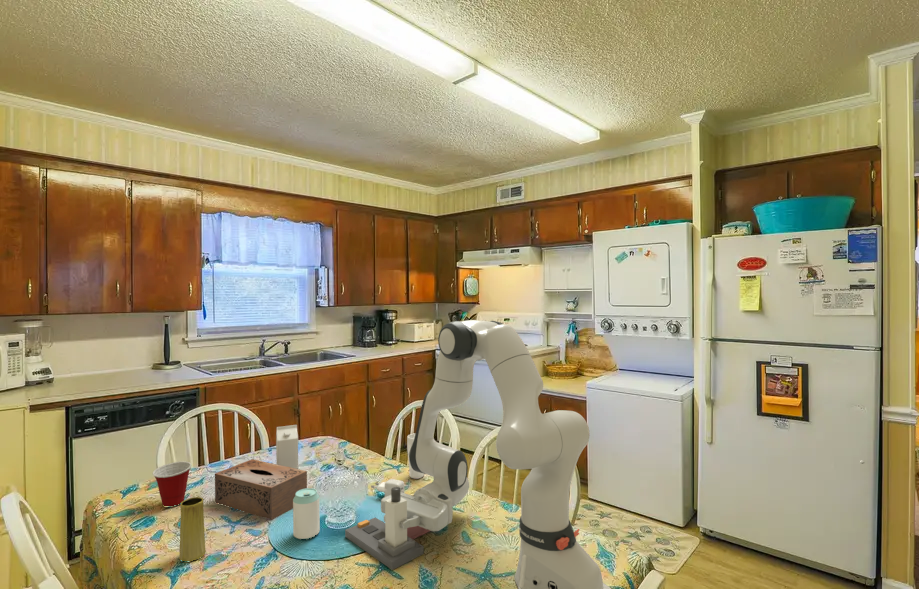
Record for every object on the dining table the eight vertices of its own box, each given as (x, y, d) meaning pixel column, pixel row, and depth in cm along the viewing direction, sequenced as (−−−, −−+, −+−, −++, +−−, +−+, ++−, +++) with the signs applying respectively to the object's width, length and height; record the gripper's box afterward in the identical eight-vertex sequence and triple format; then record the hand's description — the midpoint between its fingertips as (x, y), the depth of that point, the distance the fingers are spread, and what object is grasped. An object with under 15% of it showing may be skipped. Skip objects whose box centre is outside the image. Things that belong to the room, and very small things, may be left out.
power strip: (423, 553, 121) (423, 540, 121) (392, 570, 114) (392, 555, 114) (375, 524, 137) (375, 512, 136) (345, 536, 130) (345, 524, 130)
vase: (200, 547, 125) (199, 494, 125) (210, 555, 121) (209, 500, 121) (175, 557, 120) (174, 502, 120) (184, 565, 116) (183, 509, 116)
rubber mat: (437, 527, 134) (437, 524, 134) (407, 542, 126) (407, 538, 126) (413, 514, 142) (413, 511, 142) (383, 527, 134) (383, 524, 134)
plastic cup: (144, 510, 147) (143, 472, 147) (172, 495, 157) (172, 460, 157) (172, 513, 144) (172, 475, 144) (199, 498, 155) (199, 462, 155)
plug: (407, 553, 121) (406, 488, 121) (394, 560, 118) (394, 493, 118) (398, 547, 124) (397, 484, 124) (385, 554, 121) (384, 488, 121)
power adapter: (369, 497, 154) (369, 480, 154) (377, 492, 159) (377, 474, 159) (398, 503, 150) (398, 485, 150) (406, 497, 154) (405, 479, 154)
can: (325, 532, 132) (324, 490, 132) (305, 543, 126) (304, 499, 126) (307, 525, 136) (307, 485, 136) (287, 537, 130) (287, 494, 130)
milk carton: (276, 475, 174) (275, 424, 174) (296, 472, 177) (295, 422, 177) (277, 482, 168) (277, 429, 168) (298, 478, 171) (297, 427, 171)
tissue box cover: (215, 504, 151) (214, 473, 151) (252, 487, 164) (252, 459, 164) (271, 521, 140) (271, 487, 140) (307, 501, 153) (306, 471, 153)
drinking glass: (422, 480, 168) (422, 439, 168) (405, 479, 169) (404, 438, 169) (428, 473, 174) (427, 433, 174) (410, 472, 176) (410, 432, 176)
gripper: (400, 483, 137) (365, 500, 126) (456, 500, 125) (423, 521, 114) (400, 504, 137) (366, 523, 126) (456, 523, 125) (423, 546, 114)
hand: (393, 522), depth 120 cm, fingers closed on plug, 4 cm apart
